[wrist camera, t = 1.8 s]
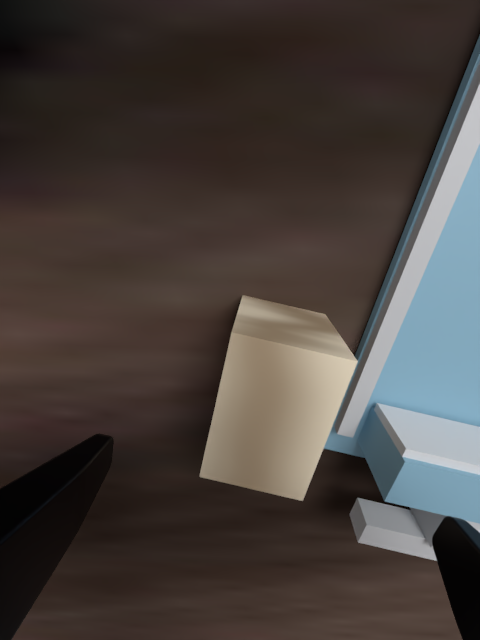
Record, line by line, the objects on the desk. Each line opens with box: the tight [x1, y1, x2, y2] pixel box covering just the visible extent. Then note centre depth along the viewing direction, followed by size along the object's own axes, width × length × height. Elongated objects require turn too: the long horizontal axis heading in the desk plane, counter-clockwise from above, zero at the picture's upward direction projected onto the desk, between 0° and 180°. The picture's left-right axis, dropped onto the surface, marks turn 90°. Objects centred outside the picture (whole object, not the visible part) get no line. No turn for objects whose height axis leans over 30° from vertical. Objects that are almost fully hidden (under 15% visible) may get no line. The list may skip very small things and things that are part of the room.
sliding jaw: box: [349, 403, 480, 561], centre depth 13 cm, size 9×6×4 cm
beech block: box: [199, 295, 358, 501], centre depth 12 cm, size 4×6×5 cm, turn 168°
